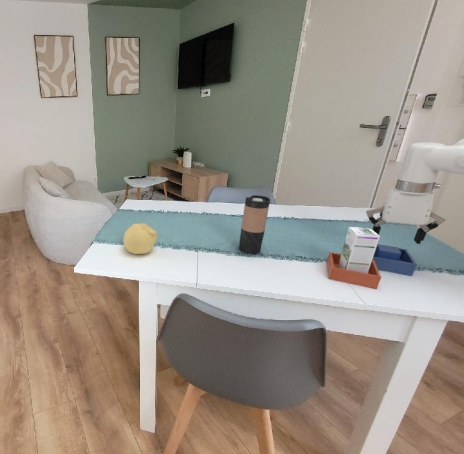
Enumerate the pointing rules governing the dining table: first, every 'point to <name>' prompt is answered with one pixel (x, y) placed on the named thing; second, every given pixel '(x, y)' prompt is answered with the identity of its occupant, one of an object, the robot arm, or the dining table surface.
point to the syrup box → (358, 249)
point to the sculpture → (140, 238)
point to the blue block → (387, 252)
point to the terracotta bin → (352, 273)
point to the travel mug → (253, 224)
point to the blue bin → (397, 264)
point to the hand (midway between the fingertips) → (395, 239)
